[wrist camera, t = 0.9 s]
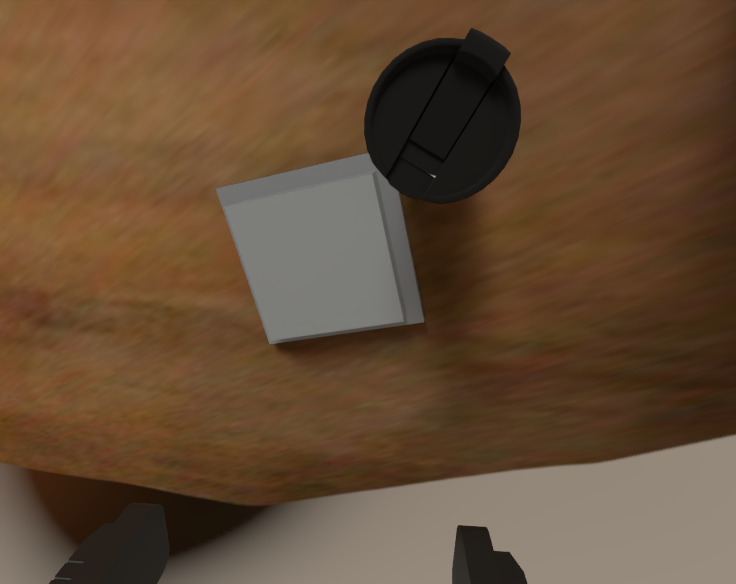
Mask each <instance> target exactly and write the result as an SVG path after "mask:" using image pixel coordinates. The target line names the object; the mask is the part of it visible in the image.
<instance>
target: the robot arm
mask: <svg viewBox="0 0 736 584" xmlns="http://www.w3.org/2000/svg"><path fill="white" fill-rule="evenodd" d="M168 554H169V542H168V536H167V530H166V523H165V518H164V511H163V507H162V506H161V505H159V504H142V503H131V504H130V505H128V506H127V507H126V508H125V510H124V511H123V512H122V513H121V515H120V516H119V517H118V519H117V520H116V521H115V523H114V524H109V523H108V524H107V523H106V524H105V525H103V526H102V527H101V528H99V529H98V530H97V531H95V532H94V533H93V534H91V535H90V536H89V537H88V538H86V539H85V540H84V541H83V542H82V544H81V545H80V546H79V547H78V549H77V550H76V551H75V552H74V553H73V555H72V556H71V557H70V559H69V561H68V563H66V564H65V565H64V566H63V567H62V568H61V569H60V571H59V572H58V573H57V575H56V576H55V579H54V580H52V581H51V582H50V583H49V584H157V583H158V581H159V579H160V577H161V576H162V574H163V572H164V569H165V567H166V564H167V560H168ZM452 584H527V581H526V578H525V575H524V572H523V570H522V569H521V568H520V566H519V565H518V563H517V562H516V561H515V559H514V558H513V557H512V555H511V554H510V552H500V551H494V550H493V546H492V542H491V539H490V535H489V532H488V529H487V528H486V527H477V526H462V525H458V527H457V533H456V541H455V551H454V559H453V569H452Z"/></svg>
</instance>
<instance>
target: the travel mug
mask: <svg viewBox="0 0 736 584" xmlns="http://www.w3.org/2000/svg"><path fill="white" fill-rule="evenodd" d="M510 54H511V53H510V52H509V51H508V50H507V49H506V48H505V47H504V46H502V45H501V44H500V43H498V42H497V41H495V40H494V39H492V38H491V37H489V36H487V35H486V34H484V33H482V32H481V31H478V30H475V29H473V28H471V29H470V31H469V33H468V34H467V36H466V38H465V39H457V38H437V39H433V40H428V41H424V42H421V43H419V44H417V45H415V46H413V47H411V48H409V49H407V50H405V51H404V52H403V53H401V54H400V55H399V56H397V57H396V58H395V59H393V60H392V62H391V63H390V64H389V65H388V66H387V67H386V68H385V69H384V71H383V72H382V73H381V75H380V76H379V78H378V80H377V81H376V83H375V85H374V86H373V89H372V91H371V94H370V97H369V99H368V102H367V107H366V112H365V118H364V134H365V140H366V145H367V150H368V153H369V155H370V158H371V161H372V163H373V164H374V165H375V167H376V168H377V169H378V170H379V172H380V173H381V174H382V175H383V176H384V178H386V179H387V181H388V182H389V184H390V185H391V186H392V187H393V188H395V189H396V190H397V191H399V192H400V193H402V194H404V195H406V196H408V197H410V198H412V199H422V200H423V201H428V202H433V203H438V204H444V203H451V202H456V201H459V200H462V199H465V198H468V197H470V196H472V195H474V194H475V193H477V192H479V191H481V190H482V189H484V188H485V187H486V186H487V185H488V184H490V183H491V182H492V181H493V180H494V179H495V178H496V177H497V176H498V175H499V173H500V172H501V171H502V170H503V169H504V167H505V166H506V164H507V162H508V161H509V159H510V157H511V155H512V154H513V151H514V148H515V145H516V143H517V140H518V136H519V130H520V124H521V107H520V100H519V96H518V92H517V88H516V85H515V83H514V81H513V79H512V77H511V75H510V73H509V72H508V70H507V69H506V67H505V66H504V64H505V62H506V61H507V59H508V58H509V56H510Z"/></svg>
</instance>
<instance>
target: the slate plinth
mask: <svg viewBox="0 0 736 584" xmlns="http://www.w3.org/2000/svg"><path fill="white" fill-rule="evenodd" d="M216 191H217V194H218V197H219V200H220V202H221V205H222V208H223V211H224V214H225V217H226V220H227V223H228V226H229V228H230V231H231V234H232V237H233V240H234V243H235V246H236V249H237V252H238V254H239V257H240V260H241V263H242V266H243V269H244V272H245V275H246V277H247V280H248V283H249V286H250V289H251V292H252V295H253V298H254V301H255V303H256V306H257V309H258V312H259V315H260V318H261V321H262V324H263V327H264V329H265V332H266V335H267V338H268V341H269V344H275V343H282V342H289V341H296V340H303V339H310V338H317V337H325V336H332V335H339V334H346V333H353V332H360V331H367V330H374V329H381V328H388V327H395V326H402V325H409V324H416V323H423V322H424V317H425V315H424V310H423V305H422V300H421V295H420V289H419V284H418V279H417V274H416V269H415V264H414V259H413V254H412V249H411V244H410V239H409V234H408V228H407V223H406V218H405V213H404V208H403V203H402V198H401V193H400V192H399V191H397V190H396V189H395V188H393V187H392V186H391V185H390V184H389V182H388V181H387V179H386V178H384V176H383V175H382V174H381V173H380V172H379V170H378V169H377V168H376V167H375V165H374V164H373V163H372V161H371V158H370V155H369V153H364V154H360V155H355V156H351V157H347V158H343V159H338V160H334V161H330V162H326V163H321V164H317V165H313V166H309V167H304V168H300V169H296V170H292V171H287V172H283V173H279V174H275V175H270V176H266V177H262V178H258V179H253V180H249V181H245V182H241V183H236V184H232V185H228V186H224V187H220V188H217V189H216Z"/></svg>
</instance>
